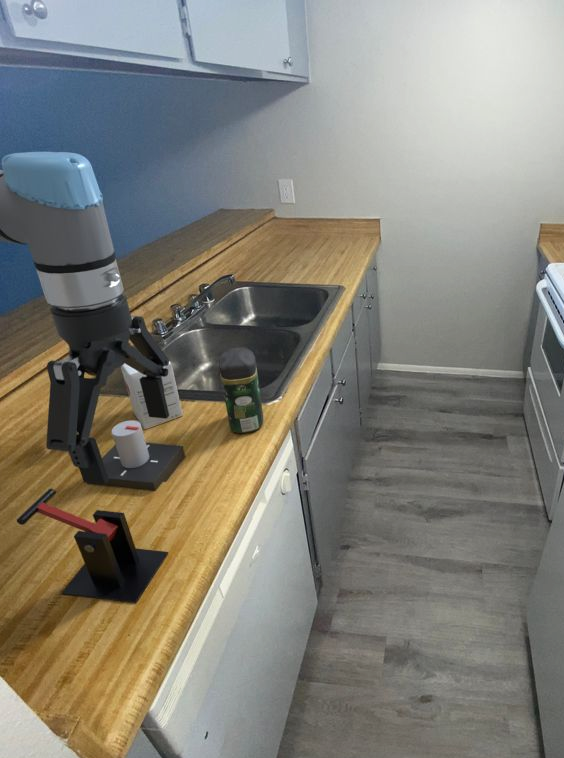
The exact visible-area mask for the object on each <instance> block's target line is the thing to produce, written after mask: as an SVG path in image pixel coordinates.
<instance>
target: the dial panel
mask: <svg viewBox="0 0 564 758" xmlns="http://www.w3.org/2000/svg"><path fill="white" fill-rule="evenodd" d="M146 446H147V449H148V453H149V459H148V461H147V462H146V463H144V464H143V465H141V466H139V467H136V468H125V467H123V466H122V464H121V461H120V458H119V454H118V451H117V448H116V445H115V444H114V445H113V446H112V447H111V448H110V449H109V450H108V451H107V452H106V453H105V454H104V455H103V456H101V457H102V460H103V463H104V466H105V469H106V472H107V475H108V478H109V481H108V482H107V483H106V484H105V485H103V484H94V483H86V484H87V485H91V486H104V487H113V488H123V489H131V490H132V489H134V490H142V491H151V492H153V491H154V492H156V491H157V490H158V489H159V487H160V486H161V485H162V483H167V481H168V480H169V479H170V478H171V476H172V475H173V473H174V472H175V471H177V470H176V469H178V467H179V466H180V465H181V463H182V462H183V461H184V459H186V454H185V449H184V446H183V445H178V444H177V445H176V444H167V443H156V442H146Z"/></svg>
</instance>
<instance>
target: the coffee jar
mask: <svg viewBox="0 0 564 758" xmlns="http://www.w3.org/2000/svg"><path fill="white" fill-rule="evenodd" d="M218 360H219V361H218V362H219V363H218V368H219V375H220V381H221V387H222V388H221V389H222V392H223V398H224V404H225V409H226V414H227V420H228V425H229V429H230V430H231V432H233V433H237V434H247V433H252V432H255V431H258V430H260V429H261V428H262V427H263V425H264V411H263V404H262V399H261V391H260V384H259V383H260V382H259V375H258V368H257V362H256V361H257V360H256V356H255V354H254V352H253V351H252V350H250V349H248V348H246V347H235V348H228V349H227V350H225V351H224V352H223V353H221V355H220V356H219V359H218Z"/></svg>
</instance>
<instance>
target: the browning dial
mask: <svg viewBox="0 0 564 758" xmlns="http://www.w3.org/2000/svg"><path fill="white" fill-rule="evenodd" d="M111 435H112V438H113V441H114V446H115V445H116V448H117V451H118V454H119V458H120V461H121V464H122V466H123V467H125V468H136V467H139V466H141V465H143V464H144V463H146V462H147V461H148V459H149V453H148V449H147V446H146V443H147V442H146V438H145V435H144V431H143V426H142V425H141V423H140V422H139V420H131V419H130V420H125V421H121V422H119V423H117V424H116V425H115V426H113V428H112V429H111Z"/></svg>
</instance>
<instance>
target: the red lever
mask: <svg viewBox="0 0 564 758" xmlns="http://www.w3.org/2000/svg"><path fill="white" fill-rule="evenodd" d="M56 494H57V491H56V490H55V489H53V488H49V489H47V491H45V492H44V493H43V494H42V495H41V496H40V497H39V498H37V500H36V501H35V502H33V504H31V505H30V506H29V507H28V508H27V509H26V510H25V511H24V512H23V513H22V514H21V515H19V517H18V518H17V519H16V522H17V524H18V525H22V526H23V525H26V524H27V523H28V522H29V521H30V520H31V519H32V518H33V517H34V516H35V515H36V514H37V513H39V514H41V515H43V516H46V517H49V518H51V519H54V520H55V521H58V522H61V523H62V524H66V525H68V526H70V527H72V528H76V529H78V530H79V531H85V532H94V533H103V534H107V536H108V539H109V541H111V539H112V538H113V537H114V535H115V533H116V529H117V525H114V524H112V523H109V522H107V521H104V520H102V519H99V520H98V521H97V522H96V523H95V522H92V521H90V520H87V519H84V518H82V517H80V516H77V515H74V514H73V513H70V512H67V511H65V510H62V509H61V508H57V507H55V506H53V505H50V504H47V503H48V502H50V500H52V498H54V497H55V496H56Z"/></svg>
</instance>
